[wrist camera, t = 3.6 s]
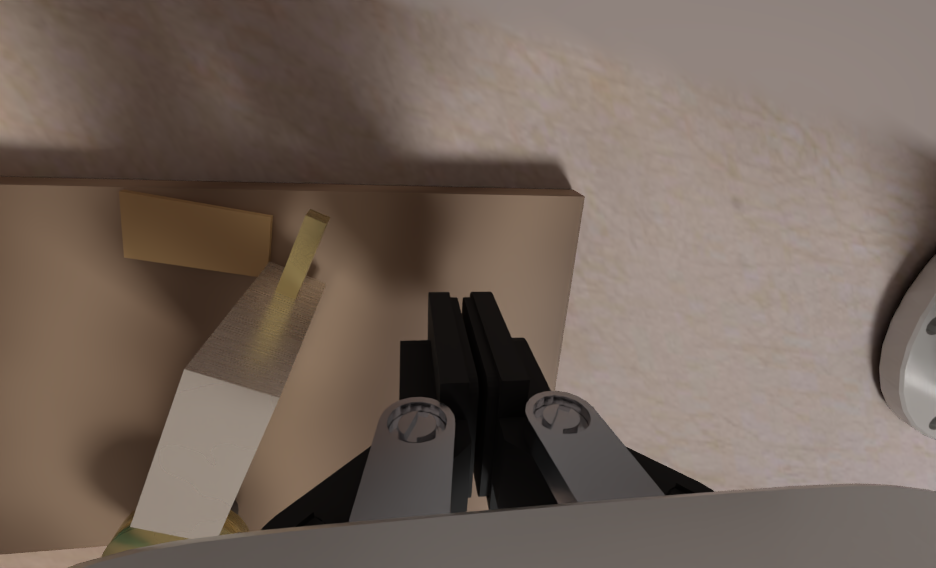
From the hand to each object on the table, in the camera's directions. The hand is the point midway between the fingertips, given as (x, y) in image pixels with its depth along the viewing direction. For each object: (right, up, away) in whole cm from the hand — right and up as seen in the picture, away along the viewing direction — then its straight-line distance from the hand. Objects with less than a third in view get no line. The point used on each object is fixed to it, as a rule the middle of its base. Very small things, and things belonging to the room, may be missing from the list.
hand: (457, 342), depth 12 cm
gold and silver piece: (-7, -2, +2) cm, 7 cm away
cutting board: (-8, -2, +3) cm, 9 cm away
